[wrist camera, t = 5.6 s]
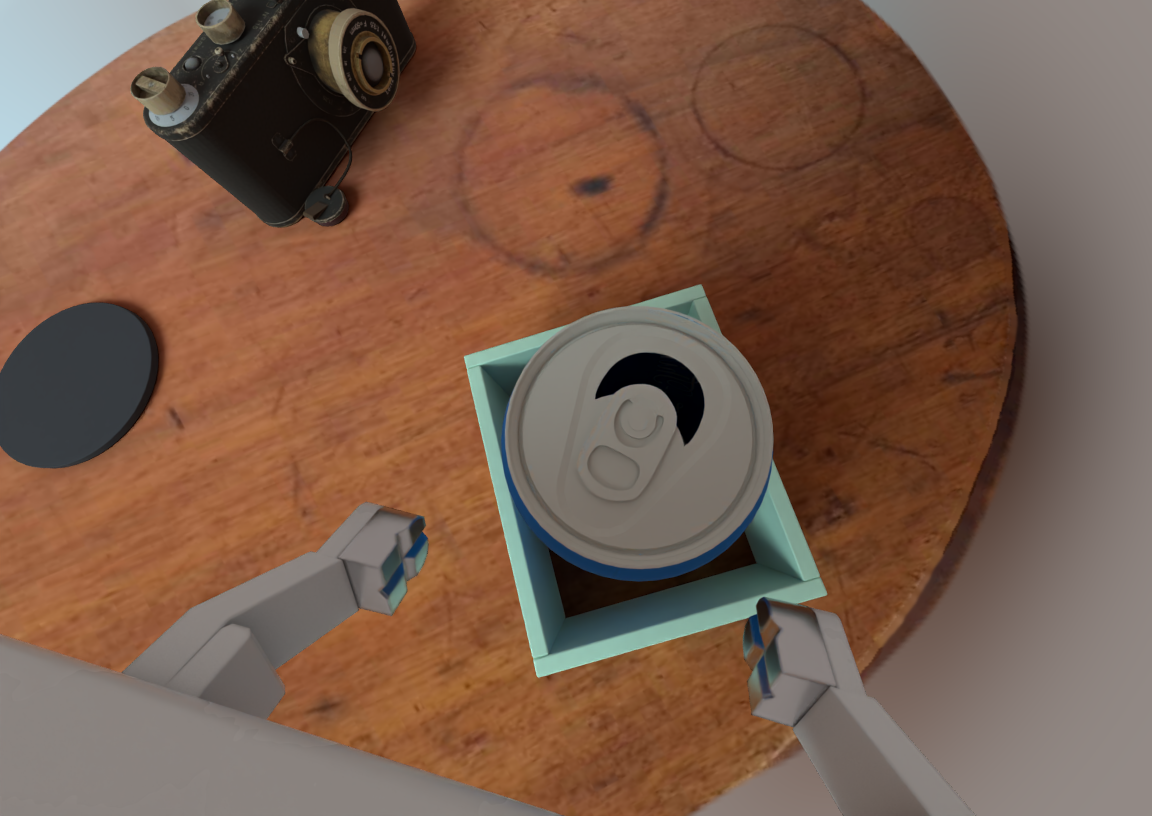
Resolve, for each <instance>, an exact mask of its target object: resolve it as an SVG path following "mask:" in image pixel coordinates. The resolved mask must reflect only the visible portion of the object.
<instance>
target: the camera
mask: <svg viewBox="0 0 1152 816" xmlns="http://www.w3.org/2000/svg"><path fill="white" fill-rule="evenodd" d="M196 22H197V24H198V25H199V27H200V28H201V29H202V30H203V33H202V34H201V35H200V36H199V37H198V39H197V40H196V41H195V42H194V44H193V45H192V46H191V47H190V49H189V50H188V51H187V52H186V53H185V55H184V56H183V57H182V58H181V60H180V61H179V62H178V63H177V65H176V66H175V67H174V68H173V69H172V71H171V72H170V73H169V72H168V71H167V70H166V69H164V68H162V67H152V68H148V69H146V70H144V71H142V72H141V73H140V74H138V75H137V76H136V77H135V79H134V80H133V82H132V84H131V88H130V89H131V94H132V95H133V96H134V97H135V98H136V99H137V100H138V101H139V102H141V103H142V104H143V105H144V106H145V107H144V111H143V117H144V120H145V123H146V125H147V126H148V127H149V128H150V129H151V130H152V131H153V132H154V133H155V134H157V135H158V136H159V137H161V138H163V139H165V140H166V141H167V142H169V143H170V144H171V145H172V146H173V147H175V148H176V149H177V150H178V151H180V152H181V153H182V154H183V155H184V156H186V157H187V158H188V159H189V160H191V161H192V162H193V163H194V164H195V165H197V166H198V167H199V168H200V169H201V170H203V171H204V172H205V173H206V174H208V175H209V176H210V177H211V178H212V179H214V180H215V181H216V182H217V183H219V184H220V185H221V186H222V187H223V188H225V189H226V190H227V191H228V192H230V193H231V194H232V195H233V196H234V197H236V198H237V199H238V200H239V201H241V202H242V203H243V204H244V205H245V206H247V207H248V208H249V209H250V210H252V211H253V212H254V213H255V214H256V215H257V216H258V217H259V218H260V219H261V220H262V221H263V222H264V223H266V224H268V225H269V226H273V227H286V226H290V225H292V224H294V223H296V222H297V221H298V220H299V219H301V218H302V216H303V215H304V216H305V217H307V218H310V219H311V220H312V221H314V222H316V223H318V224H319V225H322V226H333V225H335V224H337V223H339V222H341V221H342V220H343V219H344V218H345V216H346V215H347V213H348V209H349V205H348V201H347V199H346V198H345V195H344V193H343V192H342V191H341V190H340V189H338V188H337V187H338V186H339V185H340V183H341V182H342V180H343V179H344V177H345V176H346V174H347V172H348V170H349V168H350V165H351V161H352V151H351V148H350V146H351V145H352V143H353V142H354V140H355V139H356V137H357V136H358V134H359V133H360V132H361V130H362V129H363V127H364V126H365V124H366V123H367V121H368V120H369V118H370V117H371V116H372V114H373V113H374V111H381V110H384V109H385V108H386V107H388V106H389V105H390V103H391V102H392V101H393V99H394V97H395V95H396V92H397V89H398V84H399V75H400V73H401V72H402V70H403V69H404V67H405V66H406V64H407V63H408V62H409V60H410V59H411V57H412V56H413V54H414V52H415V49H416V42H415V39H414V37H413V35H412V33H411V32H410V29H409V27H408V25H407V22H406V20H405V18H404V15H403V13H402V11H401V8H400V6H399V4H398V1H397V0H229V1H227V0H211V1H209V2H208V3H206V4H204V5H203V6H202V7H201V8H200V9H199V10H198V12H197V14H196ZM348 149H349V155H350V157H349V162H348V165H347V168H346V170H345V172H344V174H343V175H342V177H341V178H340V180H339V181H338V183H337V184H336V185H335V187H333V186H324V184H325V183H326V181H327V180H328V178H329V177H330V175H331V174H332V172H333V171H334V170H335V168H336V167H337V165H338V164H339V162H340V161H341V159H342V158H343V156H344V155H345V153H346V152H347V151H348Z"/></svg>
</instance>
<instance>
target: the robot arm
mask: <svg viewBox="0 0 1152 816" xmlns="http://www.w3.org/2000/svg"><path fill="white" fill-rule="evenodd" d="M425 526H426V524H425V519H424V517H423V516H420V515H416V514H412V513H408V512H404V511H401V510H397V509H393V508H389V507H386V506H382V505H378V504H374V503H369V502H365V503H363V504H361V505H359V506H358V507H357V508H356V509H355V510H354V512H353V513H352V514H351V515H350V516H349V517H348V518H347V519H346V520H345V521H344V522H343V524H342V525H341V526H340V527H339V528H338V529H337V530H336V531H335V532H334V533H333V535H332V536H331V537H330V538H329V539H328V540H327V541H326V542H325V543H324V544H323V545H322V547H321V548H320V549H319V550H318V551H317V552H316V553H315V552H311V551H310V552H308V553H306V554H304V555H302V556H300V557H298V558H295V559H293V560H291V561H289V562H287V563H285V564H283V565H281V566H279V567H277V568H274V569H272V570H270V571H268V572H266V573H264V574H262V575H260V576H258V577H256V578H253V579H251V580H249V581H247V582H245V583H243V584H241V585H239V586H237V587H235V588H232V589H230V590H228V591H226V592H224V593H222V594H220V595H218V596H216V597H214V598H211V599H209V600H207V601H205V602H203V603H201V604H199V605H197V606H195V607H193V608H190V609H189V610H188V611H187V612H186V613H185V614H184V615H183V616H182V617H181V618H180V619H179V620H177V621H176V622H175V623H174V624H173V625H172V626H171V627H170V628H169V629H168V630H167V631H166V632H165V633H164V634H162V635H161V636H160V637H159V638H158V639H157V640H156V641H155V642H154V643H153V644H152V645H151V646H150V647H148V648H147V649H146V650H145V651H144V652H143V653H142V654H141V655H140V656H139V657H138V658H137V659H136V660H134V661H133V662H132V663H131V664H130V665H129V666H128V667H127V668H126V669H125V670H124V671H123V672H122V673H120V672H117V671H114V670H111V669H107V668H104V667H101V666H98V665H95V664H92V663H89V662H86V661H83V660H80V659H76V658H73V657H70V656H67V655H64V654H61V653H58V652H55V651H52V650H48V649H45V648H42V647H39V646H36V645H33V644H30V643H27V642H23V641H20V640H17V639H14V638H11V637H8V636H5V635H2V634H0V816H563V815H560V814H557V813H554V812H551V811H548V810H545V809H542V808H539V807H535V806H532V805H529V804H526V803H523V802H520V801H517V800H514V799H511V798H508V797H504V796H501V795H498V794H495V793H492V792H489V791H486V790H483V789H480V788H477V787H473V786H470V785H467V784H464V783H461V782H458V781H455V780H452V779H449V778H446V777H442V776H439V775H436V774H433V773H430V772H427V771H424V770H421V769H418V768H414V767H411V766H408V765H405V764H402V763H399V762H396V761H393V760H390V759H387V758H383V757H380V756H377V755H374V754H371V753H368V752H365V751H362V750H359V749H356V748H352V747H349V746H346V745H343V744H340V743H337V742H334V741H331V740H328V739H325V738H321V737H318V736H315V735H312V734H309V733H306V732H303V731H300V730H297V729H294V728H290V727H287V726H284V725H281V724H278V723H275V722H272V721H269V720H266V719H267V718H268V717H269V715H270V714H271V712H272V711H273V710H274V708H275V707H276V705H277V704H278V703H279V701H280V700H281V698H282V697H283V696H284V694H285V685H284V684H283V682H282V680H281V679H280V677H279V675H278V674H277V672H276V671H275V670H276V669H277V668H278V667H280V666H281V665H283V664H284V663H285V662H287V661H288V660H290V659H291V658H293V657H294V656H295V655H297V654H298V653H300V652H301V651H302V650H304V649H305V648H307V647H308V646H309V645H311V644H312V643H314V642H315V641H316V640H318V639H319V638H321V637H322V636H323V635H325V634H326V633H328V632H329V631H330V630H332V629H333V628H335V627H336V626H337V625H339V624H340V623H342V622H343V621H344V620H346V619H347V618H349V617H350V616H352V615H353V614H354V613H356V612H357V611H358V610H359V609H358V608H361V609H365V610H369V611H373V612H377V613H381V614H385V615H390V616H392V615H393V614H394V612H395V610H396V609H397V607H398V606H399V604H400V602H401V601H402V599H403V598H404V596H405V594H406V593H407V581H409V580H410V579H412V578H414V577H415V576H417V575H418V573H419V572H420V570H421V568H422V567H423V565H424V562H425V559H426V557H427V554H428V546H429V544H428V538H427V537H426V535H425V534H424V533H423V532H422V531H423V529H424V528H425ZM756 610H757V614H755V615H753V616H750V617H749V619H748V621H747V623H746V625H745V629H744V635H743V652H744V660H745V661H746V663H747V664H748V666H749V667H750V669H751V670H752V674H751V675H750V677H749V679H748V680H747V685H748V692H749V700H750V707H751V715H754V716H758V717H761V718H764V719H768V720H771V721H774V722H777V723H781V724H784V725H787V726H791V727H794V728H793V731H794V733H795V735H796V736H797V738H798V740H799V741H800V743H801V745H802V746H803V748H804V750H805V752H806V753H807V755H808V757H809V758H810V760H811V762H812V764H813V765H814V767H815V769H816V770H817V772H818V774H819V776H820V777H821V779H822V781H823V782H824V784H825V786H826V787H827V789H828V791H829V793H830V794H831V796H832V798H833V800H834V801H835V803H836V804H837V806H838V808H839V810H840V811H841V813H842V815H843V816H976V815H975V814H974V812H973V811H972V810H971V809H970V808H969V807H968V806H967V804H966V803H965V802H964V801H963V800H962V799H961V797H960V796H959V795H958V794H957V793H956V792H955V790H954V789H953V788H952V787H951V786H950V785H949V783H948V782H947V781H946V780H945V779H944V778H943V776H942V775H941V774H940V773H939V772H938V771H937V770H936V768H935V767H934V766H933V765H932V764H931V763H930V762H929V760H928V759H927V758H926V757H925V756H924V754H923V753H922V752H921V751H920V750H919V749H918V747H917V746H916V745H915V744H914V743H913V742H912V741H911V739H910V738H909V737H908V736H907V735H906V734H905V732H904V731H903V730H902V729H901V728H900V727H899V726H898V724H897V723H896V722H895V721H894V720H893V718H891V716H890V715H889V714H888V713H887V711H886V710H885V709H884V708H883V707H882V706H881V705H880V703H879V702H878V701H877V700H876V699H875V698H873V697H870V696H867V694H866V691H865V689H864V686H863V683H862V680H861V677H860V674H859V671H858V669H857V666H856V663H855V660H854V657H853V654H852V652H851V649H850V646H849V643H848V640H847V637H846V634H845V632H844V629H843V626H842V623H841V620H840V618H839V617H838V616H837V615H836V614H835V613H832V612H827V611H823V610H818V609H814V608H809V607H808V606H804V605H799V604H795V603H790V602H786V601H781V600H777V599H772V598H768V597H762V598H760V599H759V601H758V602H757V604H756Z"/></svg>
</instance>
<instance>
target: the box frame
mask: <svg viewBox="0 0 1152 816" xmlns="http://www.w3.org/2000/svg"><path fill="white" fill-rule="evenodd" d="M631 306H649V307H657V308H664V309H668V310H672V311H676V312H680V313H682V314H685V315H687V316H690V317H693V318H695V319H697V320H699V321H701V322H703V323H704V324H706V325H708V326H710V327H711V328H713V329H714V330H716V331H717V332H718V333H720V334H721V335H722V333H721V331H720V328H719V326H718V323H717V321H716V319H715V316H714V314H713V311H712V309H711V306H710V304H709V301H708V299H707V297H706V294H705V292H704V289H703V287H702V285H701V284H700V285H697V286H693V287H690V288H687V289H683V290H680V291H677V292H674V293H670V294H667V295H664V296H660V297H657V298H654V299H651V300H647V301H644V302H641V303H637V304H634V305H631ZM568 325H569V324H568ZM566 326H567V325H565V326H562V327H558V328H555V329H552V330H549V331H545V332H542V333H539V334H535V335H532V336H529V337H526V338H522V339H519V340H516V341H512V342H509V343H506V344H503V345H499V346H496V347H493V348H489V349H486V350H483V351H480V352H476V353H473V354H470V355H466V356H464V359H465V364H466V368H467V369H468V370H467V372H468V377H469V381H470V386H471V390H472V394H473V399H474V403H475V407H476V412H477V416H478V421H479V425H480V429H481V434H482V438H483V442H484V447H485V451H486V456H487V460H488V464H489V469H490V473H491V478H492V482H493V486H494V491H495V495H496V499H497V504H498V508H499V513H500V517H501V521H502V526H503V530H504V534H505V539H506V543H507V548H508V552H509V556H510V561H511V565H512V569H513V574H514V578H515V583H516V587H517V591H518V596H519V600H520V605H521V609H522V613H523V618H524V622H525V626H526V631H527V635H528V640H529V644H530V648H531V653H532V657H533V658H534V666H535V670H536V675H537V677H542V676H546V675H549V674H553V673H556V672H560V671H563V670H567V669H570V668H574V667H577V666H581V665H584V664H588V663H591V662H595V661H598V660H602V659H605V658H609V657H612V656H616V655H619V654H623V653H626V652H630V651H633V650H637V649H640V648H644V647H647V646H651V645H654V644H658V643H661V642H665V641H668V640H672V639H675V638H679V637H682V636H686V635H689V634H693V633H696V632H700V631H703V630H707V629H710V628H714V627H717V626H721V625H724V624H728V623H731V622H735V621H738V620H742V619H745V618H749V617H750V616H753V615H755V614H757V610H756V604H757V602H758V601H759V599H760V598H762V597H768V598H772V599H777V600H781V601H786V602H790V603H795V604H798V603H801V602H805V601H808V600H812V599H815V598H819V597H822V596H826V595H827V592H826V589H825V587H824V584H823V582H822V579H821V578H820V577H819V576H820V574H819V572H818V569H817V567H816V564H815V562H814V559H813V557H812V554H811V552H810V549H809V547H808V545H807V542H806V540H805V537H804V535H803V532H802V530H801V527H800V525H799V522H798V520H797V517H796V515H795V513H794V510H793V508H792V505H791V503H790V500H789V498H788V495H787V493H786V490H785V488H784V486H783V483H782V481H781V478H780V476H779V473H778V471H777V468H776V466H775V463H774V461H773V459H772V470H771V475H770V479H769V483H768V488H767V490H766V493H765V496H764V498H763V501H762V503H761V506H760V507H759V509H758V511H757V513H756V515H755V516H754V518H753V520H752V522H751V523H750V524H749V526H748V527H747V528H746V529H745V534H746V537H747V539H748V542H749V545H750V548H751V550H752V553H753V556H754V558H755V561H756V564H752V565H749V566H745V567H742V568H738V569H735V570H731V571H728V572H725V573H721V574H718V575H714V576H711V577H707V578H704V579H700V580H697V581H693V582H690V583H686V584H683V585H679V586H676V587H672V588H669V589H666V590H662V591H659V592H655V593H652V594H648V595H645V596H641V597H638V598H634V599H631V600H627V601H624V602H620V603H617V604H613V605H610V606H607V607H603V608H600V609H596V610H593V611H589V612H586V613H582V614H579V615H575V616H572V617H568V618H565V613H564V609H563V605H562V601H561V597H560V593H559V589H558V585H557V581H556V577H555V573H554V569H553V565H552V561H551V557H550V553H549V549H548V547H547V546H546V545H545V544H544V543H543V542H542V541H541V540H540V539H539V538H538V537H537V536H536V535H535V534H534V532H533V531H532V530H531V529H530V527H529V526H528V525H527V524H526V522H525V521H524V519H523V517H522V516H521V514H520V513H519V511H518V509H517V508H516V505H515V503H514V501H513V499H512V496H511V494H510V492H509V489H508V485H507V482H506V479H505V475H504V469H503V463H502V456H501V436H502V426H503V420H504V416H505V411H506V407H507V404H508V402H509V399H510V397H509V396H511V394H512V391H513V389H514V387H515V385H516V383H517V381H518V379H519V377H520V375H521V373H522V371H523V369H524V368H525V366H526V365H527V363H528V362H529V361H530V359H531V358H532V356H533V355H534V354H535V353H536V352H537V351H538V350H539V348H540V347H541V346H542V345H543V344H544V343H545V342H546V341H547V340H549V339H550V338H551V337H552V336H553V335H554V334H556V333H557V332H558V331H560V330H561V329H563V328H564V327H566Z"/></svg>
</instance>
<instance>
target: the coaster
mask: <svg viewBox="0 0 1152 816" xmlns="http://www.w3.org/2000/svg"><path fill="white" fill-rule="evenodd" d="M157 371H158V350H157V345H156V341H155V338H154V336H153V334H152V331H151V330H150V328H149V327H148V325H147V324H146V323H145V322H144V321H143V320H142V318H140V317H139V316H138V315H136V314H135V313H134V312H132V311H130V310H128V309H125V308H123V307H120V306H117V305H114V304H109V303H87V304H81V305H77V306H73V307H71V308H68V309H65V310H63V311H61V312H59V313H57V314H55V315H53V316H51V317H50V318H48V319H47V320H45V321H43V322H42V323H41V324H39V325H38V326H37V327H36V328H34V329H33V330H32V331H31V332H30V333H29V334H28V335H27V336H26V337H25V338H24V339H23V340H22V341H21V342H20V343H19V344H18V346H17V347H16V348H15V349H14V351H13V352H12V353H11V355H10V356H9V358H8V360H7V361H6V363H5V365H4V367H3V369H2V370H1V372H0V446H1V447H2V449H3V450H4V451H5V452H6V453H7V454H8V455H9V456H10V457H12V458H13V459H15V460H16V461H18V462H20V463H23V464H25V465H28V466H33V467H39V468H63V467H68V466H73V465H77V464H79V463H82V462H85V461H87V460H89V459H91V458H93V457H95V456H97V455H99V454H101V453H102V452H104V451H105V450H107V449H108V448H110V447H111V446H112V445H113V444H115V443H116V442H117V441H118V440H119V439H120V438H121V437H122V436H123V435H124V434H125V433H126V432H127V431H128V430H129V429H130V428H131V427H132V425H133V424H134V423H135V422H136V420H137V419H138V417H139V416H140V415H141V413H142V412H143V410H144V408H145V406H146V404H147V402H148V400H149V398H150V396H151V393H152V391H153V388H154V384H155V381H156V376H157Z"/></svg>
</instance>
